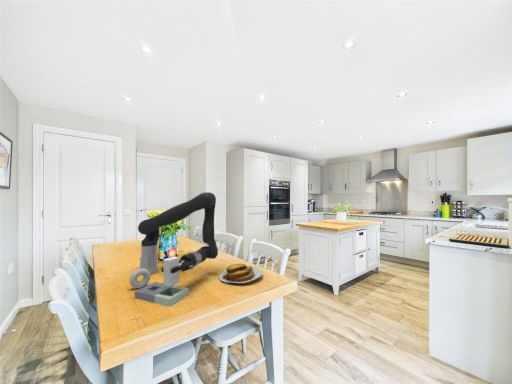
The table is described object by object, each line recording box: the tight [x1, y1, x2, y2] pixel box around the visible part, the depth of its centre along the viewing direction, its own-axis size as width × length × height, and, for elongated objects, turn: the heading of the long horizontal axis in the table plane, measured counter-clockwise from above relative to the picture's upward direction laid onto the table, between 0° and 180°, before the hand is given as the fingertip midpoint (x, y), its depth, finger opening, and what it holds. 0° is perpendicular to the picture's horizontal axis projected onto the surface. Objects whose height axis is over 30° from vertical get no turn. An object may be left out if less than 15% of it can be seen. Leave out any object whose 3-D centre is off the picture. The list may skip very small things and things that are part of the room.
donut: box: [129, 268, 151, 289], centre depth 112 cm, size 10×4×10 cm, turn 135°
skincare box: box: [162, 256, 181, 287], centre depth 100 cm, size 6×4×12 cm
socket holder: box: [134, 281, 190, 307], centre depth 102 cm, size 22×12×3 cm, turn 68°
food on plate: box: [219, 263, 263, 286], centre depth 126 cm, size 25×25×7 cm
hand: (166, 270), depth 98 cm, fingers closed on skincare box, 5 cm apart
